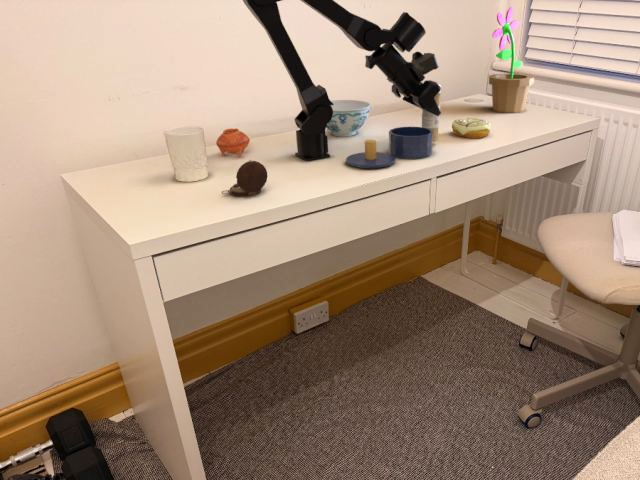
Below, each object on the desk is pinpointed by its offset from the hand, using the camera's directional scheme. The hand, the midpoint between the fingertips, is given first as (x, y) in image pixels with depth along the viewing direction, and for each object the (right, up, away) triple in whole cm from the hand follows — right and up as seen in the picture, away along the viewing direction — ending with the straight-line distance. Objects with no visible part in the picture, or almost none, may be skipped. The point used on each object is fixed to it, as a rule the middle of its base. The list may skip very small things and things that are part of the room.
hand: (435, 113), depth 139 cm
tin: (-7, -11, -4) cm, 13 cm away
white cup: (-54, -20, -19) cm, 61 cm away
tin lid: (-16, -15, -11) cm, 24 cm away
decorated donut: (+11, -2, +13) cm, 17 cm away
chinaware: (-24, -1, +15) cm, 28 cm away
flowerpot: (+28, +14, +43) cm, 53 cm away
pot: (-49, -12, -4) cm, 51 cm away
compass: (-41, -26, -30) cm, 57 cm away
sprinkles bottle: (-1, -6, +3) cm, 7 cm away
